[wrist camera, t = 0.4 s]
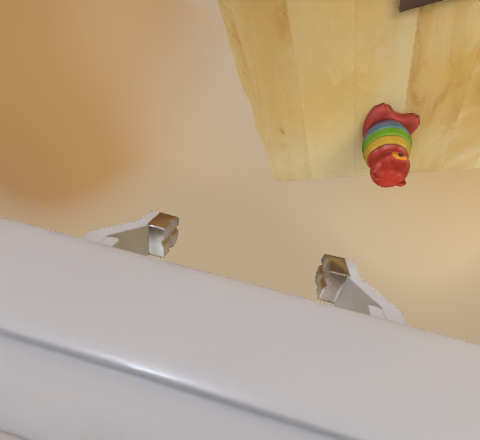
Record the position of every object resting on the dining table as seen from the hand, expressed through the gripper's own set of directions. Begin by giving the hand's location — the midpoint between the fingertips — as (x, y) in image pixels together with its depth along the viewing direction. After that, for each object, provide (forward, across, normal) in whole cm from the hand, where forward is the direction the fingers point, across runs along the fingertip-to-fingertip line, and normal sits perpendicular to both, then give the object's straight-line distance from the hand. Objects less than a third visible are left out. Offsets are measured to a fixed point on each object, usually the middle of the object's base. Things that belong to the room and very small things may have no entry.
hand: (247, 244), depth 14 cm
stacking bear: (+56, -23, -4) cm, 61 cm away
